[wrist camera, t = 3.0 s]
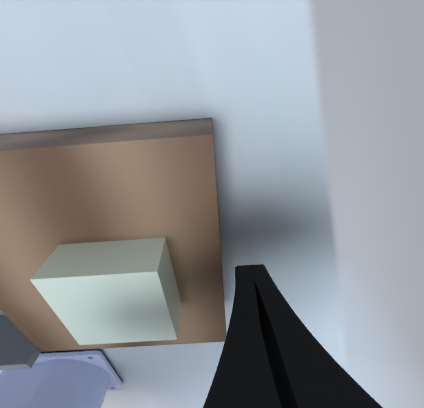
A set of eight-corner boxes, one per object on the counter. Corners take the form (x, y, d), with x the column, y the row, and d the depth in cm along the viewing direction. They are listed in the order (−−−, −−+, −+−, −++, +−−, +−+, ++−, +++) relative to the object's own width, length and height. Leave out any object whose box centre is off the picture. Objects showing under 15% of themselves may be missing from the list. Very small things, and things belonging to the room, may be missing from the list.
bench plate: (64, 311, 18) (41, 351, 15) (-59, 139, 11) (-144, 161, 8) (223, 301, 18) (226, 341, 15) (211, 117, 10) (212, 134, 8)
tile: (96, 308, 13) (79, 345, 11) (59, 244, 10) (29, 279, 9) (181, 303, 13) (177, 339, 11) (165, 237, 10) (157, 271, 8)
